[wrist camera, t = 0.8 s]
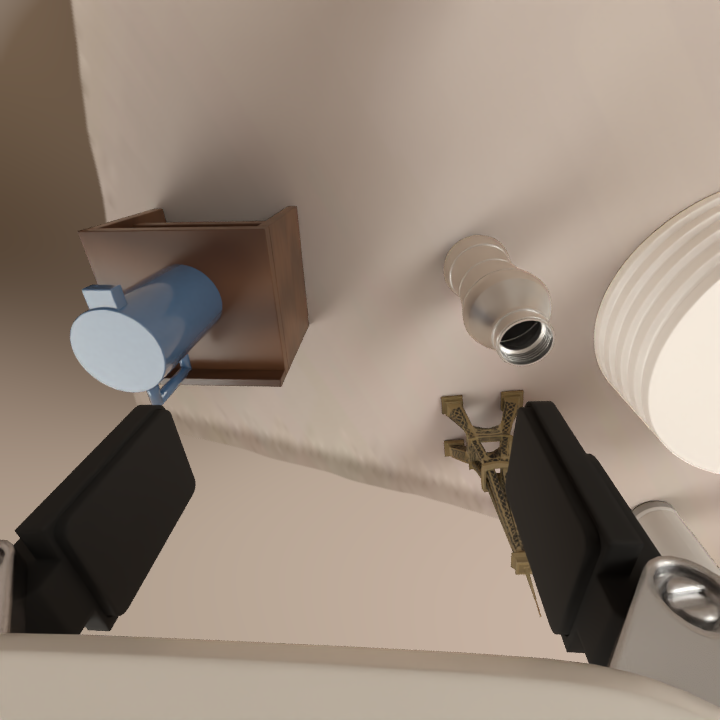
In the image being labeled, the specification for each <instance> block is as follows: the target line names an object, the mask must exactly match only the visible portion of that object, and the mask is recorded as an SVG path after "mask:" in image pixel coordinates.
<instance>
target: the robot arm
mask: <svg viewBox="0 0 720 720" xmlns="http://www.w3.org/2000/svg"><path fill="white" fill-rule="evenodd" d="M505 489H506V496H507V499H508V502H509V505H510V508H511V511H512V514H513V517H514V520H515V523H516V526H517V529H518V532H519V535H520V538H521V541H522V544H523V547H524V550H525V553H526V556H527V559H528V562H529V565H530V568H531V571H532V574H533V577H534V580H535V583H536V586H537V589H538V592H539V595H540V598H541V601H542V604H543V607H544V609H545V613H546V616H547V619H548V622H549V625H550V627H551V629H552V631H553V633H554V634H561V636H562V639H563V642H564V645H565V648H566V650H567V652H576V653H585V654H586V657H587V659H588V662H589V664H587V663H579V662H571V661H563V660H555V659H546V658H533V657H518V656H504V655H490V654H476V653H461V652H442V651H424V650H405V649H386V648H385V649H384V648H367V647H348V646H347V647H346V646H328V645H306V644H285V643H265V642H243V641H222V640H221V641H220V640H200V639H177V638H152V637H128V636H126V637H125V636H104V635H80V633H81V631H82V630H83V628H84V627H86V628H87V629H88V630H96V631H110V630H111V628H112V627H113V625H114V623H115V622H116V620H117V618H118V616H121V615H122V614H124V613H125V612H126V610H127V609H128V608H129V606H130V604H131V602H132V601H133V599H134V597H135V595H136V593H137V592H138V590H139V588H140V586H141V585H142V583H143V581H144V579H145V578H146V576H147V574H148V572H149V571H150V569H151V567H152V565H153V564H154V562H155V560H156V558H157V557H158V555H159V553H160V551H161V549H162V548H163V546H164V544H165V542H166V540H167V539H168V537H169V535H170V534H171V532H172V530H173V528H174V527H175V525H176V523H177V521H178V519H179V518H180V516H181V514H182V513H183V511H184V509H185V507H186V506H187V504H188V502H189V500H190V499H191V497H192V495H193V493H194V490H195V479H194V476H193V473H192V470H191V468H190V465H189V462H188V459H187V457H186V454H185V451H184V448H183V446H182V443H181V440H180V437H179V435H178V432H177V429H176V426H175V424H174V421H173V418H172V415H171V413H170V412H169V411H168V410H165V408H164V407H163V406H162V405H139V406H137V407H135V408H134V409H133V410H132V411H131V412H130V414H128V416H127V417H125V418H124V419H123V421H122V422H121V423H120V424H119V425H118V426H117V427H116V428H115V429H114V430H113V431H112V432H111V433H110V434H109V435H108V436H107V437H106V438H105V439H104V440H103V441H102V442H101V443H100V444H99V445H98V446H97V447H96V448H95V449H94V450H93V451H92V452H91V453H90V454H89V455H88V456H87V457H86V458H85V459H84V460H83V461H82V462H81V463H80V464H79V465H78V466H77V467H76V468H75V470H73V471H72V473H71V474H70V475H69V476H68V477H67V478H66V479H65V480H64V481H63V482H62V483H61V484H60V485H59V486H58V487H57V488H56V489H55V490H54V491H53V492H52V493H51V494H50V495H49V496H48V497H47V498H46V499H45V500H44V501H43V502H42V503H41V504H40V506H38V507H37V508H36V509H35V510H34V511H33V512H32V513H31V514H30V515H29V516H28V517H27V518H26V520H25V521H23V523H22V524H21V525H20V526H19V527H18V528H17V529H16V530H15V532H16V533H17V534H18V536H19V537H20V539H19V540H18V541H17V542H16V543H15V544H14V545H13V544H11V543H10V542H9V541H7V540H0V720H720V576H718V575H717V574H715V573H714V572H712V571H710V570H709V569H707V568H705V567H704V566H702V565H700V564H697V563H695V562H692V561H690V560H687V559H684V558H679V557H674V556H661V554H660V553H659V551H658V550H657V548H656V547H655V545H654V544H653V542H652V541H651V539H650V538H649V536H648V535H647V533H646V532H645V530H644V529H643V527H642V526H641V524H640V523H639V521H638V520H637V518H636V517H635V515H634V514H633V512H632V511H631V509H630V508H629V506H628V505H627V503H626V502H625V500H624V499H623V497H622V496H621V494H620V493H619V491H618V490H617V488H616V487H615V485H614V484H613V482H612V481H611V479H610V478H609V476H608V475H607V473H606V472H605V470H604V469H603V467H602V466H601V464H600V463H599V461H598V460H597V459H596V458H595V456H593V455H591V454H586V453H585V451H584V450H583V448H582V446H581V445H580V443H579V442H578V440H577V439H576V437H575V436H574V434H573V432H572V431H571V429H570V428H569V426H568V425H567V423H566V421H565V420H564V418H563V417H562V415H561V414H560V412H559V411H558V409H557V407H556V406H555V404H554V403H553V402H551V401H528V402H527V403H526V405H525V407H520V408H519V409H518V412H517V418H516V423H515V429H514V435H513V441H512V447H511V453H510V459H509V465H508V471H507V477H506V483H505Z"/></svg>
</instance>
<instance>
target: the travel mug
mask: <svg viewBox="0 0 720 720" xmlns="http://www.w3.org/2000/svg"><path fill="white" fill-rule="evenodd" d="M632 512H633V514H634V515H635V517H636V518H637V520H638V521H639V523H640V524H641V526H642V527H643V529H644V530H645V532H646V533H647V535H648V536H649V538H650V539H651V541H652V542H653V544H654V545H655V547H656V548H657V550H658V551H659V553H660V554H661V556H674V557H679V558H684V559H687V560H690V561H692V562H695V563H697V564H700V565H702V566H704V567H705V568H707V569H709V570H710V571H712V572H714V573H715V574H717V575H718V576H720V568H719V567H718V566H717V564H716V563H715V562H714V560H713V559H712V558H711V556H710V555H709V554H708V553H707V551H706V550H705V549H704V547H703V546H702V545H701V543H700V542H699V541H698V539H697V538H696V537H695V535H694V534H693V533H692V531H691V530H690V529H689V528H688V526H687V525H686V524H685V522H684V521H683V520H682V518H681V517H680V516H679V515H678V513H677V512H676V510H675V509H674V508H673V507H672V506H671V505H670V504H668V503H666V502H661V501H652V502H647V503H644V504H641V505H639V506H638V507H636V508H635V509H634V510H633V511H632Z"/></svg>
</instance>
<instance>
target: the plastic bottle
mask: <svg viewBox="0 0 720 720" xmlns="http://www.w3.org/2000/svg"><path fill="white" fill-rule="evenodd" d="M443 273H444V279H445V281H446V284H447V285H448V287H449V288H450V289H451V290H452V291H453V292H454V293H455V294H456V295H458V296H459V297H460V300H461V303H462V315H463V321H464V325H465V328H466V330H467V332H468V333H469V335H470V336H471V337H472V338H473V339H474V340H475V341H476V342H478V343H480V344H481V345H483V346H485V347H487V348H490V349H493V350H496V351H497V353H498V355H499V356H500V358H501V359H502V360H504V361H505V362H506V363H508V364H510V365H513V366H528V365H532V364H535V363H537V362H539V361H541V360H542V359H543V358H545V357H546V356H547V355H548V354H549V353H550V351H551V350H552V348H553V346H554V342H555V333H554V330H553V328H552V326H551V325H550V323H549V319H550V316H551V311H552V307H551V298H550V294H549V291H548V289H547V287H546V285H545V284H544V283H543V282H542V281H541V280H540V279H538V278H537V277H536V276H534V275H532V274H531V273H529V272H527V271H524V270H522V269H519V268H517V267H516V266H514V265H513V264H512V263H511V262H510V258H509V255H508V253H507V251H506V249H505V247H504V246H503V245H502V244H501V243H500V242H499V241H498V240H496V239H494V238H491V237H489V236H482V235H473V236H469V237H466V238H464V239H462V240H460V241H459V242H457V243H456V244H455V245H454V246H453V247H452V248H451V249H450V251H449V252H448V254H447V256H446V259H445V262H444V271H443Z"/></svg>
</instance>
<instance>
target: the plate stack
mask: <svg viewBox="0 0 720 720" xmlns="http://www.w3.org/2000/svg"><path fill="white" fill-rule="evenodd" d="M594 349H595V355H596V359H597V362H598V365H599V368H600V370H601V372H602V374H603V375H604V377H605V378H606V380H607V381H608V382H609V384H610V385H611V386H612V387H613V388H614V389H615V390H616V391H617V392H618V394H619V395H620V396H621V397H622V398H623V400H624V401H625V402H626V403H627V404H628V405H629V406H630V407H631V409H632V410H633V411H634V412H635V413H636V414H637V415H638V416H639V417H640V418H641V420H642V421H643V422H644V423H645V424H646V426H647V427H648V428H649V429H650V430H651V431H652V432H653V433H654V434H655V435H656V437H657V438H658V439H659V440H660V441H661V442H662V444H663V445H664V446H665V447H666V448H667V449H668V450H669V451H670V452H671V453H673V454H674V455H675V456H677V457H678V458H679V459H681V460H683V461H684V462H686V463H688V464H690V465H692V466H694V467H697V468H699V469H702V470H705V471H708V472H712V473H716V474H720V192H718V193H716V194H713V195H711V196H709V197H707V198H705V199H703V200H701V201H699V202H697V203H695V204H694V205H692V206H690V207H688V208H687V209H685V210H684V211H682V212H680V213H679V214H677V215H676V216H674V217H673V218H672V219H670V220H669V221H668V222H666V223H665V224H664V225H662V226H661V227H660V228H659V229H657V230H656V231H655V232H654V233H653V234H651V235H650V236H649V237H648V238H647V239H646V240H645V241H644V242H643V243H642V244H641V245H640V246H639V247H638V248H637V249H636V250H635V251H634V252H633V253H632V254H631V256H630V257H629V258H628V259H627V260H626V262H625V263H624V264H623V266H622V267H621V268H620V270H619V271H618V272H617V274H616V275H615V277H614V279H613V280H612V282H611V284H610V285H609V287H608V289H607V291H606V293H605V295H604V297H603V300H602V302H601V305H600V308H599V311H598V314H597V318H596V323H595V329H594Z"/></svg>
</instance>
